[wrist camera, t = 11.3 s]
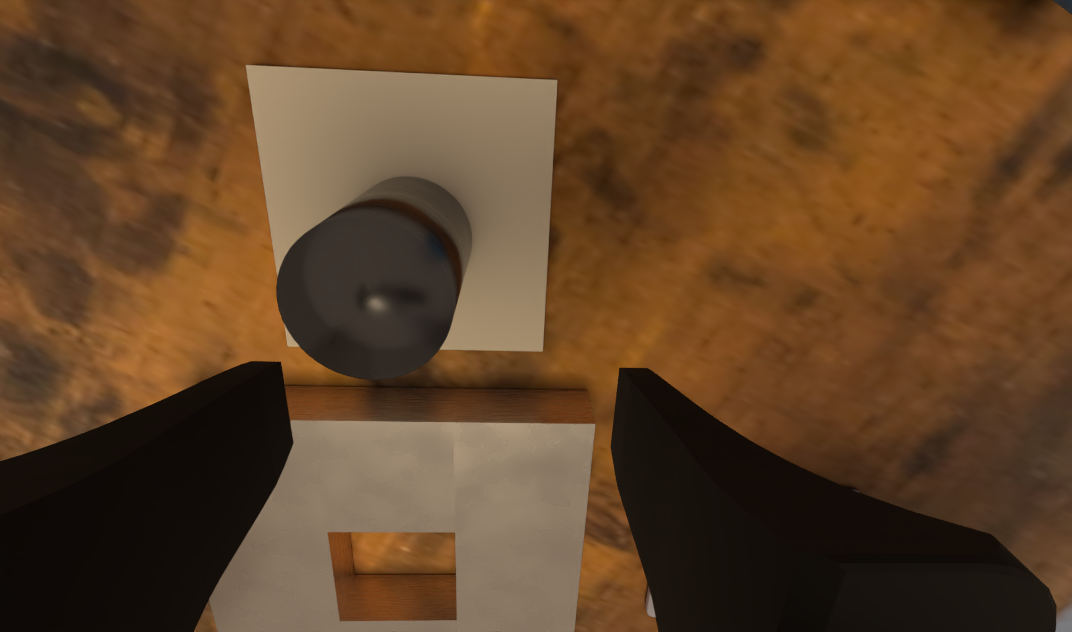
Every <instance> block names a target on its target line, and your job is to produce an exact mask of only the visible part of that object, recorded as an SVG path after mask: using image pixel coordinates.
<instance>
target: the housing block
mask: <svg viewBox="0 0 1072 632" xmlns="http://www.w3.org/2000/svg"><path fill="white" fill-rule="evenodd" d="M285 391H286V398H287V404H288V411H289V417H290V423H291V430H292V436H293V442H294V444H293V446H292V449H291V451H290V454H289V456H288V459H287V462H286V464H285V467H284V469H283V471H282V473H281V476H280V478H279V480H278V483H277V485H276V486H275V488H274V490H273V492H272V493H271V495H270V497H269V498H268V500H267V502H266V504H265V505H264V507H263V509H262V510H261V512H260V514H259V515H258V517H257V519H256V520H255V522H254V524H253V525H252V527H251V529H250V530H249V532H248V534H247V535H246V537H245V539H244V540H243V542H242V544H241V545H240V547H239V548H238V550H237V552H236V553H235V555H234V557H233V558H232V560H231V562H230V563H229V565H228V567H227V568H226V570H225V572H224V573H223V575H222V577H221V578H220V580H219V582H218V584H217V586H216V587H215V589H214V591H213V593H212V595H211V597H210V598H209V601H210V605H211V608H212V612H213V616H214V620H215V623H216V627H217V631H218V632H574V629H575V619H576V609H577V599H578V590H579V580H580V570H581V560H582V550H583V541H584V531H585V521H586V511H587V501H588V492H589V482H590V472H591V462H592V452H593V443H594V433H595V421H594V417H593V413H592V409H591V405H590V401H589V397H588V393H587V390H531V389H467V388H404V387H341V386H285ZM350 532H455V547H456V574H452V575H355V573H354V565H353V556H352V548H351V539H350Z"/></svg>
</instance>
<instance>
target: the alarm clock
mask: <svg viewBox="0 0 1072 632" xmlns="http://www.w3.org/2000/svg"><path fill="white" fill-rule="evenodd" d="M1053 1H1054V2H1056V3H1057V4H1058V5H1060V6H1061V7H1062V8H1064V9H1065V10H1066V11H1068V12H1069V13H1071V14H1072V0H1053Z"/></svg>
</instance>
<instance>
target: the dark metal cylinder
mask: <svg viewBox="0 0 1072 632" xmlns="http://www.w3.org/2000/svg"><path fill="white" fill-rule="evenodd" d="M471 250H472V232H471V226H470V223H469V220H468V217H467V215H466V213H465V211H464V209H463V208H462V206H461V205H460V203H459V202H458V201H457V200H456V198H455V197H454V196H453V195H451V194H450V193H449V192H448V191H447V190H445V189H444V188H443V187H441V186H439V185H438V184H436V183H434V182H431V181H429V180H426V179H422V178H418V177H405V176H403V177H395V178H391V179H387V180H385V181H382V182H380V183H378V184H376V185H375V186H373V187H372V188H370V189H369V190H367V191H366V192H364V193H363V194H361V195H360V196H358V197H357V198H355V199H354V200H353V201H351V202H350V203H348V204H347V205H345V206H344V207H342V208H341V209H339V210H338V211H337V212H335V213H334V214H332V215H331V216H329V217H328V218H326V219H325V220H323V221H322V222H320V223H319V224H318V225H316V226H315V227H313V228H312V229H310V230H309V231H307V232H306V233H305V234H303V235H302V236H301V237H300V238H299V239H298V240H297V241H296V242H295V243H294V244H293V245H292V246H291V247H290V249H289V250H288V252H287V254H286V255H285V257H284V259H283V261H282V264H281V266H280V269H279V273H278V277H277V286H276V290H277V302H278V307H279V311H280V314H281V317H282V320H283V322H284V324H285V326H286V328H287V330H288V332H289V333H290V335H291V336H292V338H293V339H294V340H295V342H296V343H297V344H298V345H299V346H300V348H301V349H303V350H304V351H305V352H306V353H307V354H308V355H309V356H310V357H312V358H313V359H314V360H315V361H317V362H318V363H320V364H322V365H323V366H325V367H327V368H329V369H331V370H333V371H335V372H337V373H340V374H343V375H346V376H350V377H354V378H359V379H368V380H381V379H389V378H394V377H398V376H402V375H404V374H407V373H410V372H412V371H414V370H416V369H418V368H419V367H421V366H422V365H424V364H425V363H427V362H428V361H429V360H430V359H431V358H432V357H433V356H434V355H435V354H436V353H437V352H438V350H439V349H440V348H441V347H442V345H443V343H444V342H445V340H446V338H447V336H448V333H449V331H450V328H451V324H452V320H453V317H454V313H455V309H456V306H457V302H458V298H459V295H460V291H461V287H462V284H463V280H464V276H465V273H466V269H467V265H468V262H469V258H470V254H471Z"/></svg>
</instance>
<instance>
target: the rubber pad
mask: <svg viewBox="0 0 1072 632" xmlns="http://www.w3.org/2000/svg"><path fill="white" fill-rule="evenodd" d="M246 70H247V77H248V83H249V90H250V97H251V103H252V110H253V117H254V124H255V130H256V137H257V144H258V150H259V157H260V164H261V170H262V177H263V184H264V191H265V197H266V204H267V211H268V217H269V224H270V231H271V237H272V244H273V251H274V258H275V264H276V271H277V277H278V273H279V269H280V266H281V264H282V261H283V259H284V257H285V255H286V254H287V252H288V250H289V249H290V247H291V246H292V245H293V244H294V243H295V242H296V241H297V240H298V239H299V238H300V237H301V236H302V235H303V234H305V233H306V232H307V231H309V230H310V229H312V228H313V227H315V226H316V225H318V224H319V223H320V222H322V221H323V220H325V219H326V218H328V217H329V216H331V215H332V214H334V213H335V212H337V211H338V210H339V209H341V208H342V207H344V206H345V205H347V204H348V203H350V202H351V201H353V200H354V199H355V198H357V197H358V196H360V195H361V194H363V193H364V192H366V191H367V190H369V189H370V188H372V187H373V186H375V185H376V184H378V183H380V182H382V181H385V180H387V179H391V178H395V177H403V176H405V177H418V178H422V179H426V180H429V181H431V182H434V183H436V184H438V185H439V186H441V187H443V188H444V189H445V190H447V191H448V192H449V193H450V194H451V195H453V196H454V197H455V198H456V200H457V201H458V202H459V203H460V205H461V206H462V208H463V209H464V211H465V213H466V215H467V217H468V220H469V223H470V226H471V232H472V250H471V254H470V258H469V262H468V265H467V269H466V273H465V276H464V280H463V284H462V287H461V291H460V295H459V298H458V302H457V306H456V309H455V313H454V317H453V320H452V324H451V328H450V331H449V333H448V336H447V338H446V340H445V342H444V343H443V345H442V347H441V348H440V349H441V350H491V351H541V352H543V338H544V319H545V301H546V282H547V264H548V245H549V227H550V208H551V190H552V171H553V153H554V134H555V116H556V97H557V80H545V79H524V78H504V77H483V76H462V75H442V74H421V73H400V72H380V71H359V70H338V69H318V68H297V67H276V66H256V65H246ZM284 325H285V324H284ZM285 331H286V338H287V345H288V346H289V347H300V346H299V345H298V344H297V343H296V342H295V340H294V339H293V338H292V336H291V335H290V333H289V332H288V330H287V328H286V326H285Z"/></svg>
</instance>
